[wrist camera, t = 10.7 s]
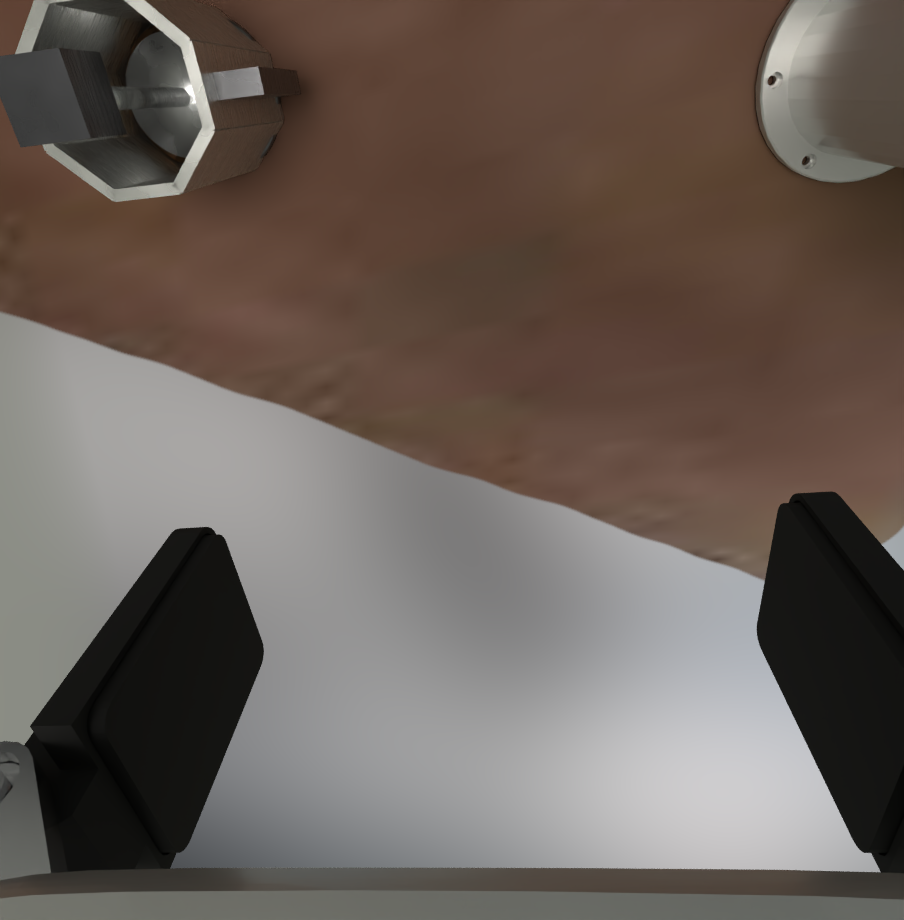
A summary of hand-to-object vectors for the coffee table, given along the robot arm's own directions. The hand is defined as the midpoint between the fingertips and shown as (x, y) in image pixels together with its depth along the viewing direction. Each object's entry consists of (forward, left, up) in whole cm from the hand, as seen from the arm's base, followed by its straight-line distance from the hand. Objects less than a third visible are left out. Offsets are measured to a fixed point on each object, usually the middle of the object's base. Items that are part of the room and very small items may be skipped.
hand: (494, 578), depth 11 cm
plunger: (+18, -9, -35) cm, 40 cm away
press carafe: (+17, -9, -38) cm, 43 cm away
